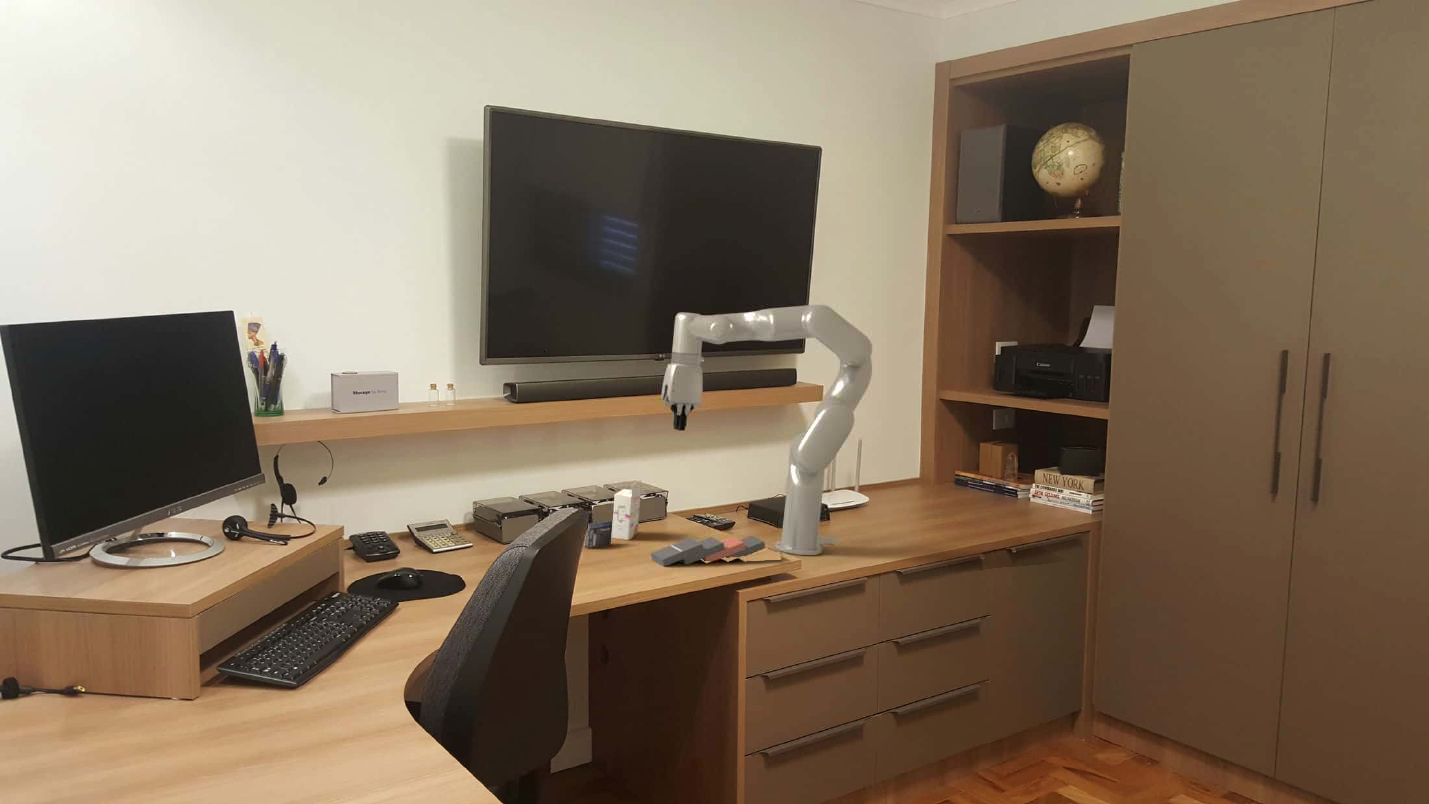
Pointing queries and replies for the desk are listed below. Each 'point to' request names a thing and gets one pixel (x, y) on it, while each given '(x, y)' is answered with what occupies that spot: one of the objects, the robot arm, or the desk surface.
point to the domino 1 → (676, 552)
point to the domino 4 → (749, 547)
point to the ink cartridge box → (626, 512)
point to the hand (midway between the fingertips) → (679, 429)
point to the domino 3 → (727, 549)
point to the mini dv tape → (598, 534)
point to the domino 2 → (705, 550)
